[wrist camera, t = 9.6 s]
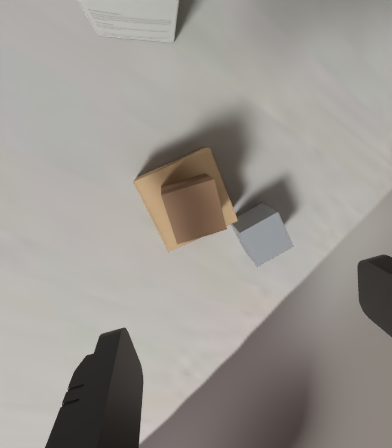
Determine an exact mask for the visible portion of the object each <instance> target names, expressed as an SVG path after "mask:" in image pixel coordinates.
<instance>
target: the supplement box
mask: <svg viewBox="0 0 392 448" xmlns="http://www.w3.org/2000/svg"><path fill="white" fill-rule="evenodd" d="M77 2H78V3H79V5H80V7H81V8H82V10H83V11H84V13H85V15H86V17H87V18H88V20H89V21H90V23H91V24H92V26H93V28H94V29H95V31H96V33H97V34H98V35H99V36H107V37H115V38H126V39H137V40H148V41H159V42H170V43H174V39H175V31H176V23H177V15H178V7H179V0H77Z"/></svg>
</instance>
